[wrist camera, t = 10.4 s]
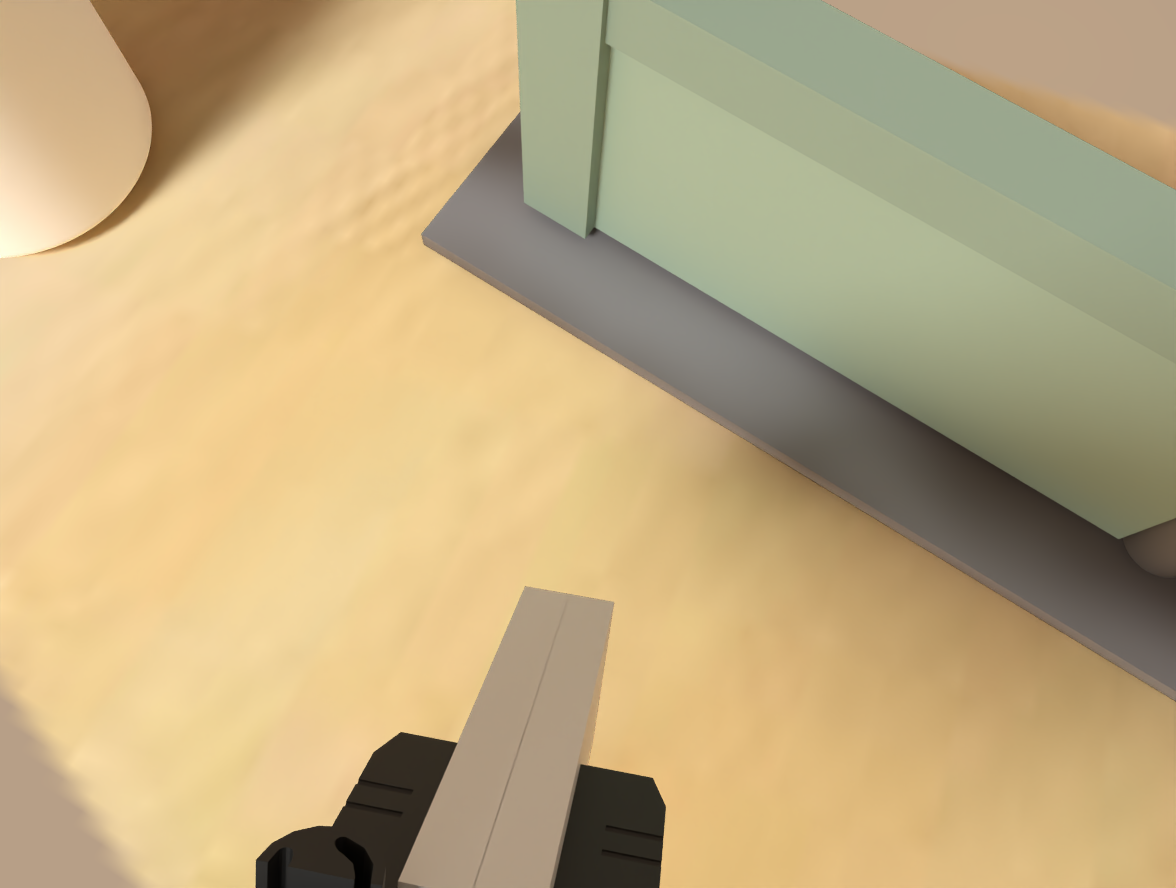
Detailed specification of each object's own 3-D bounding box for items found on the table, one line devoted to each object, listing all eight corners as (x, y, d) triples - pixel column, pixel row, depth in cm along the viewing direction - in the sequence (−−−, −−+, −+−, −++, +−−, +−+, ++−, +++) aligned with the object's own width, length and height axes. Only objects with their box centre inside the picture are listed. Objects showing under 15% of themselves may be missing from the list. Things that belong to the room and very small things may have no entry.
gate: (1182, 596, 25) (1549, 507, 16) (524, 202, 28) (513, -66, 19) (1214, 524, 26) (1583, 398, 17) (567, 146, 29) (578, -139, 20)
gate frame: (1262, 753, 25) (2164, 756, 11) (423, 244, 29) (308, -236, 15) (1354, 511, 28) (2201, 258, 13) (565, 67, 31) (583, -495, 17)
